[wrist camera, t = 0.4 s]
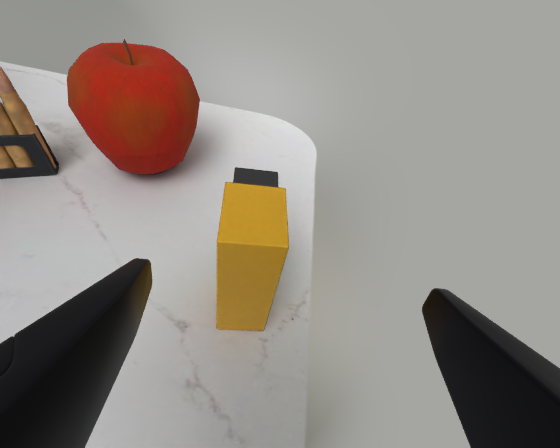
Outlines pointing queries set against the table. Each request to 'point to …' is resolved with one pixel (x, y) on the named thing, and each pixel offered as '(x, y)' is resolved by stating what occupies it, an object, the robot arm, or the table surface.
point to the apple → (134, 105)
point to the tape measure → (250, 249)
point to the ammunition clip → (21, 138)
